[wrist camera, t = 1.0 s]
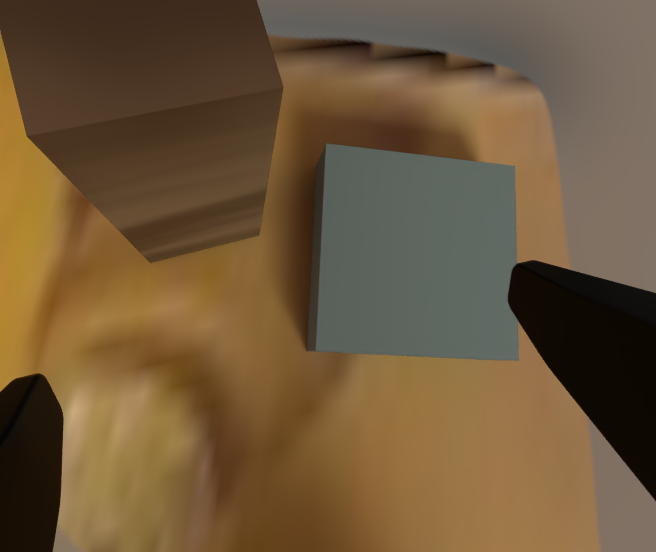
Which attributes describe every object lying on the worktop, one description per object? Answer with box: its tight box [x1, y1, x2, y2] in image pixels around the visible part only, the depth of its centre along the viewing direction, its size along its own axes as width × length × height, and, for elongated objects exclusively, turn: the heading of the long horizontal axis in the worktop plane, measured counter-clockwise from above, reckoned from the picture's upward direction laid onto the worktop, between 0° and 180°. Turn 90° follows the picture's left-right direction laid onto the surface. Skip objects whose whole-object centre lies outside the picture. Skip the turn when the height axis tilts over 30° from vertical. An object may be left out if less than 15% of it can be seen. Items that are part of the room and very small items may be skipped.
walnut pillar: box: [0, 0, 283, 263], centre depth 16 cm, size 5×5×13 cm
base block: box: [307, 143, 519, 361], centre depth 23 cm, size 9×9×3 cm
